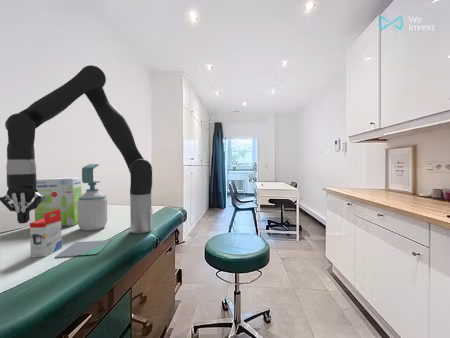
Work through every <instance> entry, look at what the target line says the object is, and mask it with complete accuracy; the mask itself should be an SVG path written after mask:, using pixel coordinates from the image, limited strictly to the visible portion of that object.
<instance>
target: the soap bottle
mask: <svg viewBox="0 0 450 338" xmlns="http://www.w3.org/2000/svg"><path fill="white" fill-rule="evenodd" d="M98 166H100V165H99V163H89V164H87V165H84V166H83V167H82V169H81V183H83V184H87V185H88V186H89V188H87V189H86V190H85V191H86V192H84V193H83V194H82V195H81V197H79V198H78V199H79V200H78V202H77V206H78V223H77V225H78V228H79V229H80V230H82V231H84V232H90V231H91V232H92V231H98V230H100V229H101V230H102V229H103V228H104V227H105V226H106V225H107V223H108V199H107V195H105V194H104V193H103V192H100V191H99V188H96V186H97V183H101V181H99V180H98V181H96V180H95V181H94V170H95V168H97V167H98Z"/></svg>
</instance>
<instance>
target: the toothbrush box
mask: <svg viewBox="0 0 450 338" xmlns="http://www.w3.org/2000/svg"><path fill="white" fill-rule="evenodd" d="M36 181H37V185H36V189H37V190H38V193H39V194H41V195H45V198H44V199H43V200H42V201H41V203H40V204H39V205H38V206H37V207H36V209H34V222H35V221H38V220H41V219H44V214H45V213H48V212H51V211H54V210H57V209H60V214H61V227H67V226H68V227H69V226H76V225H78V206H77V202H78V200H79V199H78V198H79V197H81V195H83V194H82V176H80V177H46V178H36ZM34 200H35V199H34V198H33V201H34ZM54 215H55V213H54V214H53V213H52V214H51V215H50V217H51V216H54Z"/></svg>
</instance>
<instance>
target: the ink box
mask: <svg viewBox="0 0 450 338" xmlns="http://www.w3.org/2000/svg"><path fill="white" fill-rule="evenodd" d="M52 213H53V214H54V213H55V215H54V216H51V217H50V215H51V214H52ZM29 236H30V243H29V244H30V258H45V257H48V256H49V255H51V254H53V253H55V252H56V251H58V250H60V249H61V248H62V246H63V244H62V226H61V214H60V209H57V210H54V211H51V212H48V213H45V214H44V219H41V220H38V221H35V220H34V221H32V222H30V223H29Z"/></svg>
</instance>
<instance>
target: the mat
mask: <svg viewBox="0 0 450 338" xmlns="http://www.w3.org/2000/svg"><path fill="white" fill-rule="evenodd" d="M110 242H112V240H111V239H108V240H107V239H105V240H104V239H103V240H102V239H101V240H90V241H89V240H88V241H76V242H73V243H72V244H71V245H69V246H68V247H67V248H65V249H64V250H62V251H60V252H59V253H58V254H57V255H55V256H54V259H62V257H64V258H73V257H72V256H77V255H80V254H82V253H84V252H86V251H88V250H91V249H92V248H94V247H96V246H98V245H100V244H102V243H103V244H105V243H107V244H108V243H109V244H110ZM109 244H108V245H109ZM77 257H78V256H77Z"/></svg>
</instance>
